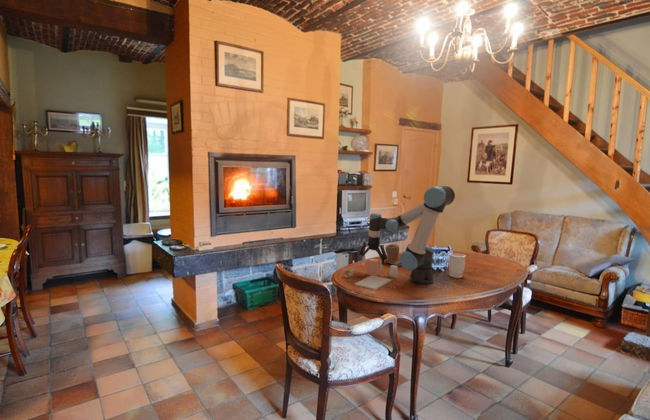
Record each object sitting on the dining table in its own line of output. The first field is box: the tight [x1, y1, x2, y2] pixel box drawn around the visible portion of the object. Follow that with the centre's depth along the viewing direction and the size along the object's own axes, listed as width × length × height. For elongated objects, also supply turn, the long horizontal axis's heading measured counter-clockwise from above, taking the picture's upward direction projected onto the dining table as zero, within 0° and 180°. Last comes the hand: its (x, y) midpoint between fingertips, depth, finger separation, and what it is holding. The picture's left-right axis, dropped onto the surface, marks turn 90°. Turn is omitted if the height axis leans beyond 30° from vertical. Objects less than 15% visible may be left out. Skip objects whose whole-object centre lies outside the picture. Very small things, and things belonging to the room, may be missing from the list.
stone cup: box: [384, 243, 403, 267], centre depth 271 cm, size 15×12×15 cm
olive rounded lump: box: [343, 267, 356, 279], centre depth 238 cm, size 5×5×5 cm
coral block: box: [366, 257, 380, 276], centre depth 245 cm, size 6×6×10 cm
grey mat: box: [354, 275, 392, 291], centre depth 228 cm, size 14×22×1 cm, turn 145°
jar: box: [448, 252, 467, 279], centre depth 247 cm, size 11×10×15 cm
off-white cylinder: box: [389, 264, 399, 279], centre depth 242 cm, size 5×5×7 cm
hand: (372, 267), depth 245 cm, fingers open, 13 cm apart
